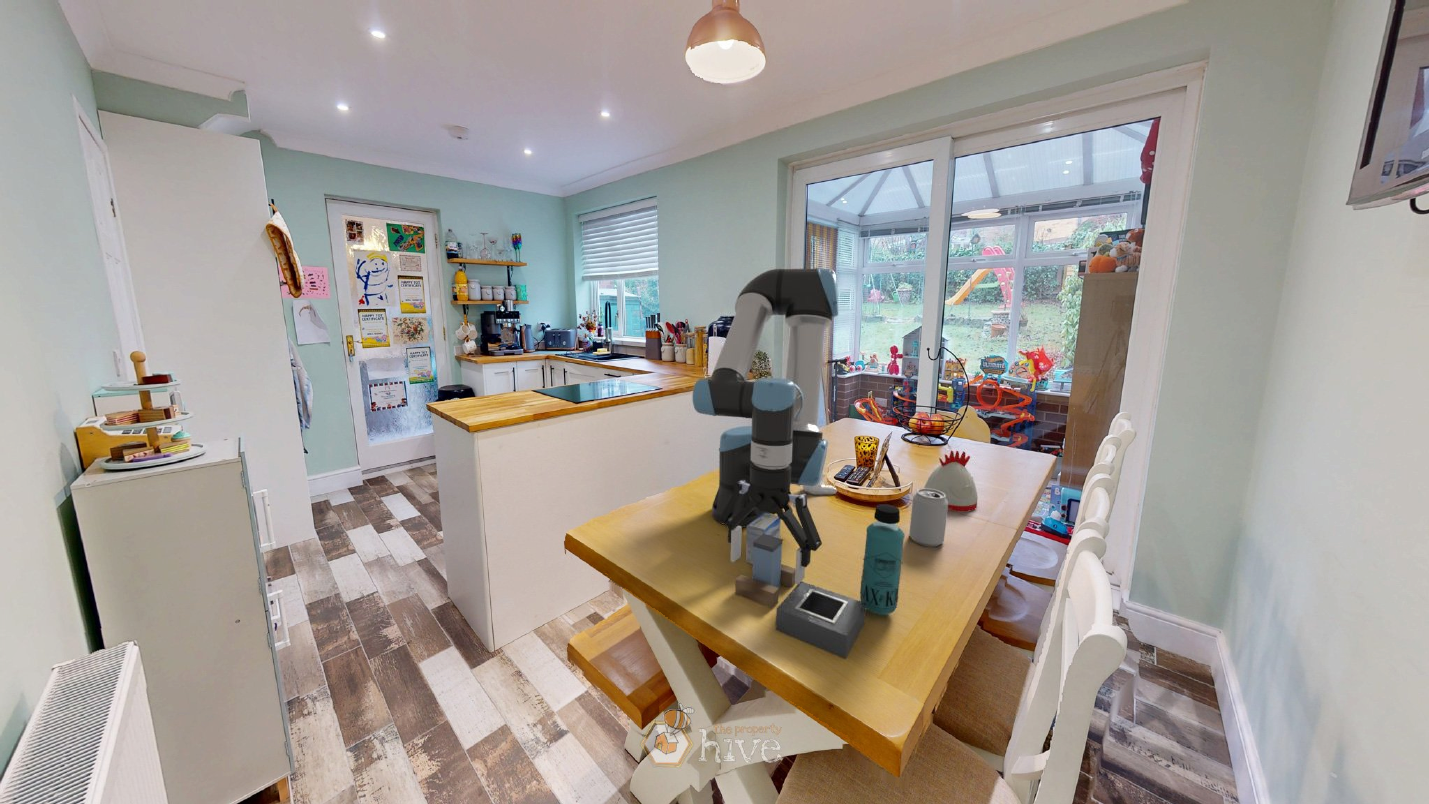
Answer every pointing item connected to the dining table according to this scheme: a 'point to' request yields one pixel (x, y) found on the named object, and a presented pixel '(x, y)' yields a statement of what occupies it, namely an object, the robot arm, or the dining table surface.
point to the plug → (767, 560)
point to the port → (821, 618)
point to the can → (928, 517)
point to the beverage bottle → (882, 561)
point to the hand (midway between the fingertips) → (766, 569)
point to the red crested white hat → (954, 482)
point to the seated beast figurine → (820, 488)
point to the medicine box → (761, 531)
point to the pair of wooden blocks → (764, 587)
